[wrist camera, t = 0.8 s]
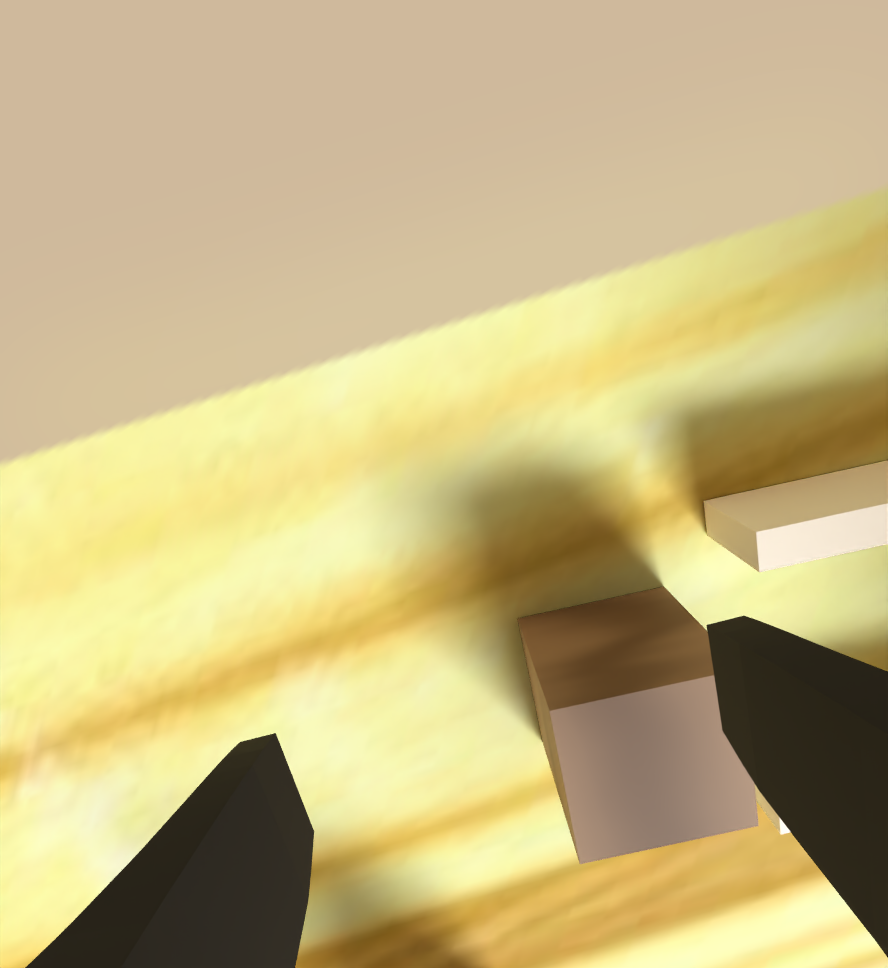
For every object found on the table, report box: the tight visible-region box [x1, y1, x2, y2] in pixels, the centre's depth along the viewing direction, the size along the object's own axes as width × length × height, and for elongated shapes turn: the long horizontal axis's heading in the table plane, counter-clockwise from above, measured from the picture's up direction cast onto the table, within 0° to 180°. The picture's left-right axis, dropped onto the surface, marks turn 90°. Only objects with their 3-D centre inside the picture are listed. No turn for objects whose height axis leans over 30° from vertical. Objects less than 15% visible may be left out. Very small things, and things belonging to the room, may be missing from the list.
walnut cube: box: [518, 586, 758, 864], centre depth 18 cm, size 5×5×5 cm
